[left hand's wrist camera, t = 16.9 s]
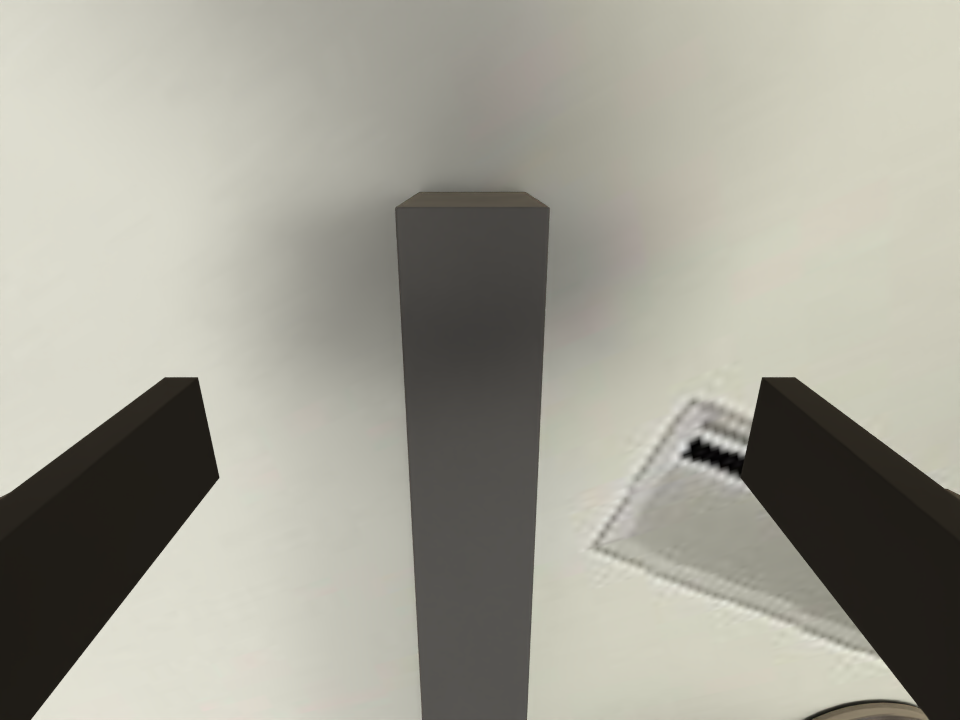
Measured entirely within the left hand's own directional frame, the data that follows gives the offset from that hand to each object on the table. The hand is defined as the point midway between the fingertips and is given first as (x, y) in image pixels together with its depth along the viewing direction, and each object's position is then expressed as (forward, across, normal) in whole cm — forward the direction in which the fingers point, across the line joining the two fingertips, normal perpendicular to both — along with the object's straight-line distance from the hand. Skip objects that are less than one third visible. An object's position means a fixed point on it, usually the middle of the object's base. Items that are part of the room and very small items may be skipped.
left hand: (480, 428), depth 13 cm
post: (+16, 0, -23) cm, 28 cm away
